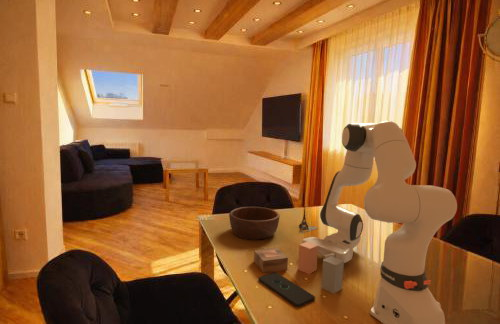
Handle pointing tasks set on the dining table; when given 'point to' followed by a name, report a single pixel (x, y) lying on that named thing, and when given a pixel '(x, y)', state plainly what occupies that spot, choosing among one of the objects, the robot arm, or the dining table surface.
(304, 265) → the terracotta block
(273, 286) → the smart home device
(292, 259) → the dining table surface
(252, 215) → the wooden bowl
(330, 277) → the grey block
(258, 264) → the walnut base block
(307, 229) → the eiffel tower figurine
